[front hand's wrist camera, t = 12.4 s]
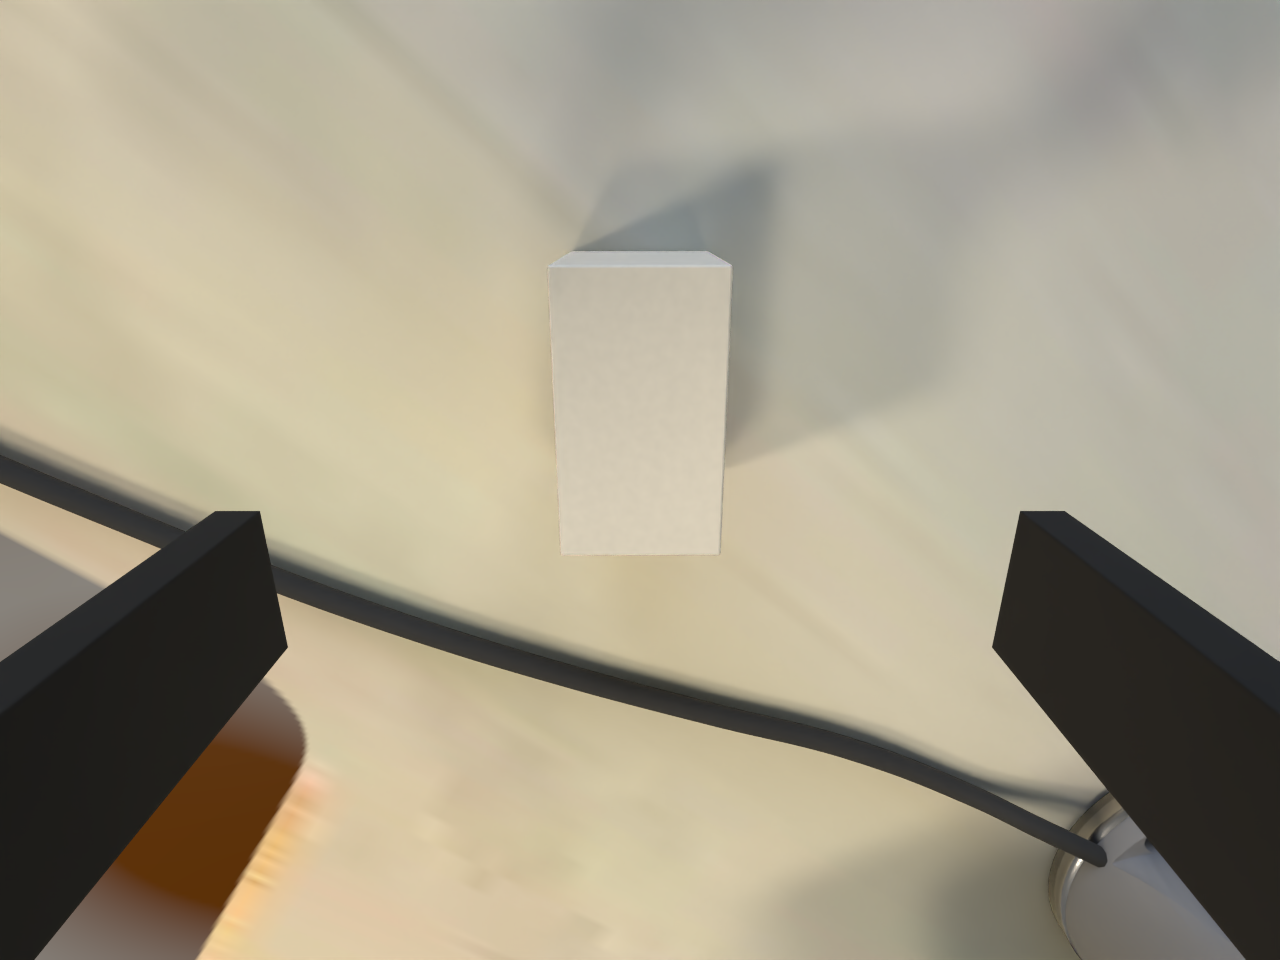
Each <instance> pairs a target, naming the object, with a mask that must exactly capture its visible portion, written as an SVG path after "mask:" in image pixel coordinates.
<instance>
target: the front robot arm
mask: <svg viewBox="0 0 1280 960" xmlns="http://www.w3.org/2000/svg"><path fill="white" fill-rule="evenodd" d="M0 483H1V484H4V485H6V486H9V487H11V488H13V489H16V490H18V491H21V492H23V493H25V494H28V495H30V496H33V497H35V498H38V499H40V500H42V501H45V502H47V503H50V504H52V505H55V506H57V507H60V508H62V509H65V510H67V511H69V512H72V513H74V514H77V515H79V516H82V517H84V518H87V519H89V520H92V521H94V522H97V523H99V524H102V525H104V526H106V527H109V528H111V529H114V530H116V531H119V532H121V533H124V534H126V535H129V536H131V537H134V538H136V539H139V540H141V541H143V542H146V543H148V544H151V545H153V546H156V547H158V548H161V550H159V551H158V552H156V553H155V554H154V555H152V556H151V557H149V558H148V559H147V560H145V561H144V562H142V563H141V564H139V565H138V566H137V567H135V568H134V569H132V570H131V571H129V572H128V573H127V574H125V575H124V576H122V577H121V578H119V579H118V580H117V581H115V582H114V583H112V584H111V585H109V586H108V587H107V588H105V589H104V590H102V591H101V592H100V593H98V594H97V595H95V596H94V597H92V598H91V599H90V600H88V601H87V602H85V603H84V604H82V605H81V606H79V607H78V608H77V609H75V610H74V611H72V612H71V613H70V614H68V615H67V616H65V617H64V618H62V619H61V620H60V621H58V622H57V623H55V624H54V625H53V626H51V627H50V628H48V629H47V630H45V631H44V632H43V633H41V634H40V635H38V636H37V637H35V638H34V639H32V640H31V641H30V642H28V643H27V644H25V645H24V646H22V647H21V648H20V649H18V650H17V651H15V652H14V653H12V654H11V655H10V656H8V657H7V658H5V659H4V660H3V661H1V662H0V960H34V959H35V958H36V957H37V956H38V955H39V953H40V952H41V951H42V950H43V948H44V947H45V946H46V945H47V943H48V942H49V941H50V940H51V938H52V937H53V936H54V935H55V934H56V932H57V931H58V930H59V929H60V927H61V926H62V925H63V924H64V923H65V921H66V920H67V919H68V918H69V916H70V915H71V914H72V913H73V911H74V910H75V909H76V908H77V906H78V905H79V904H80V903H81V902H82V900H83V899H84V898H85V897H86V895H87V894H88V893H89V892H90V890H91V889H92V888H93V887H94V885H95V884H96V883H97V882H98V881H99V879H100V878H101V877H102V876H103V874H104V873H105V872H106V871H107V870H108V868H109V867H110V866H111V865H112V863H113V862H114V861H115V860H116V858H117V857H118V856H119V855H120V854H121V852H122V851H123V850H124V849H125V847H126V846H127V845H128V844H129V842H130V841H131V840H132V839H133V837H134V836H135V835H136V834H137V833H138V831H139V830H140V829H141V828H142V826H143V825H144V824H145V823H146V821H147V820H148V819H149V818H150V817H151V815H152V814H153V813H154V812H155V810H156V809H157V808H158V807H159V805H160V804H161V803H162V802H163V801H164V799H165V798H166V797H167V796H168V794H169V793H170V792H171V791H172V789H173V788H174V787H175V786H176V784H177V783H178V782H179V781H180V780H181V778H182V777H183V776H184V775H185V773H186V772H187V771H188V770H189V768H190V767H191V766H192V765H193V763H194V762H195V761H196V760H197V759H198V757H199V756H200V755H201V754H202V752H203V751H204V750H205V749H206V747H207V746H208V745H209V744H210V743H211V741H212V740H213V739H214V738H215V736H216V735H217V734H218V733H219V732H220V730H221V729H222V728H223V727H224V725H225V724H226V723H227V722H228V720H229V719H230V718H231V717H232V715H233V714H234V713H235V712H236V710H237V709H238V708H239V707H240V706H241V704H242V703H243V702H244V701H245V699H246V698H247V697H248V696H249V695H250V693H251V692H252V691H253V690H254V688H255V687H256V686H257V685H258V683H259V682H260V681H261V680H262V679H263V677H264V676H265V675H266V674H267V672H268V671H269V670H270V669H271V667H272V666H273V665H274V664H275V663H276V661H277V660H278V659H279V658H280V656H281V655H282V654H283V653H284V651H285V650H286V649H287V648H288V646H287V641H286V636H285V631H284V626H283V621H282V617H281V612H280V607H279V602H278V597H277V593H278V594H281V595H283V596H286V597H289V598H291V599H294V600H297V601H300V602H302V603H305V604H308V605H311V606H313V607H316V608H319V609H322V610H324V611H327V612H330V613H333V614H336V615H339V616H341V617H344V618H347V619H350V620H353V621H356V622H359V623H362V624H364V625H367V626H370V627H373V628H376V629H379V630H382V631H385V632H388V633H391V634H394V635H397V636H400V637H403V638H406V639H409V640H412V641H415V642H418V643H421V644H424V645H427V646H431V647H434V648H437V649H440V650H443V651H446V652H449V653H452V654H456V655H459V656H462V657H465V658H468V659H472V660H475V661H478V662H481V663H485V664H488V665H491V666H495V667H498V668H501V669H505V670H508V671H511V672H515V673H518V674H522V675H525V676H529V677H532V678H536V679H539V680H543V681H546V682H550V683H553V684H557V685H560V686H564V687H567V688H571V689H574V690H578V691H581V692H585V693H589V694H592V695H596V696H599V697H603V698H607V699H611V700H614V701H618V702H622V703H626V704H629V705H633V706H637V707H641V708H645V709H649V710H653V711H656V712H660V713H664V714H668V715H672V716H676V717H680V718H684V719H688V720H692V721H696V722H700V723H703V724H707V725H711V726H715V727H719V728H723V729H727V730H732V731H736V732H740V733H745V734H749V735H753V736H758V737H762V738H767V739H771V740H776V741H780V742H784V743H789V744H793V745H797V746H801V747H805V748H809V749H813V750H817V751H821V752H824V753H828V754H831V755H835V756H838V757H842V758H845V759H848V760H851V761H854V762H858V763H861V764H864V765H867V766H870V767H873V768H876V769H879V770H882V771H885V772H888V773H890V774H893V775H896V776H899V777H902V778H904V779H907V780H909V781H912V782H915V783H917V784H920V785H922V786H925V787H927V788H930V789H932V790H934V791H937V792H939V793H941V794H944V795H946V796H949V797H951V798H953V799H955V800H958V801H960V802H962V803H965V804H967V805H969V806H972V807H974V808H976V809H978V810H981V811H983V812H985V813H987V814H989V815H991V816H993V817H995V818H997V819H999V820H1001V821H1003V822H1005V823H1007V824H1009V825H1011V826H1013V827H1015V828H1017V829H1019V830H1021V831H1023V832H1025V833H1027V834H1029V835H1031V836H1034V837H1036V838H1038V839H1040V840H1042V841H1044V842H1046V843H1048V844H1050V845H1052V846H1054V847H1056V848H1058V851H1057V853H1056V855H1055V858H1054V860H1053V863H1052V867H1051V870H1050V876H1049V886H1048V892H1049V901H1050V905H1051V908H1052V911H1053V914H1054V916H1055V918H1056V920H1057V922H1058V924H1059V925H1060V927H1061V929H1062V930H1063V932H1064V934H1065V936H1066V937H1067V939H1068V941H1069V942H1070V944H1071V946H1072V947H1073V949H1074V951H1075V952H1076V954H1077V955H1078V956H1079V957H1080V958H1081V960H1280V662H1279V661H1277V660H1276V659H1275V658H1273V657H1272V656H1270V655H1269V654H1268V653H1266V652H1265V651H1263V650H1262V649H1260V648H1259V647H1258V646H1256V645H1255V644H1253V643H1252V642H1250V641H1249V640H1248V639H1246V638H1245V637H1243V636H1242V635H1240V634H1239V633H1238V632H1236V631H1235V630H1233V629H1232V628H1230V627H1229V626H1228V625H1226V624H1225V623H1223V622H1222V621H1220V620H1219V619H1218V618H1216V617H1215V616H1213V615H1212V614H1210V613H1209V612H1208V611H1206V610H1205V609H1203V608H1202V607H1201V606H1199V605H1198V604H1196V603H1195V602H1193V601H1192V600H1191V599H1189V598H1188V597H1186V596H1185V595H1183V594H1182V593H1181V592H1179V591H1178V590H1176V589H1175V588H1173V587H1172V586H1171V585H1169V584H1168V583H1166V582H1165V581H1163V580H1162V579H1161V578H1159V577H1158V576H1156V575H1155V574H1153V573H1152V572H1151V571H1149V570H1148V569H1146V568H1145V567H1143V566H1142V565H1141V564H1139V563H1138V562H1136V561H1135V560H1133V559H1132V558H1131V557H1129V556H1128V555H1126V554H1125V553H1124V552H1122V551H1121V550H1119V549H1118V548H1116V547H1115V546H1114V545H1112V544H1111V543H1109V542H1108V541H1106V540H1105V539H1104V538H1102V537H1101V536H1099V535H1098V534H1096V533H1095V532H1094V531H1092V530H1091V529H1089V528H1088V527H1086V526H1085V525H1084V524H1082V523H1081V522H1079V521H1078V520H1076V519H1075V518H1074V517H1072V516H1071V515H1069V514H1068V513H1066V512H1065V511H1020V515H1019V520H1018V524H1017V529H1016V534H1015V539H1014V544H1013V549H1012V554H1011V558H1010V563H1009V568H1008V573H1007V578H1006V583H1005V587H1004V592H1003V597H1002V602H1001V607H1000V612H999V617H998V621H997V626H996V631H995V636H994V641H993V646H992V648H993V649H994V650H995V651H996V653H997V654H998V655H999V656H1000V658H1001V659H1002V660H1003V661H1004V663H1005V664H1006V665H1007V666H1008V667H1009V669H1010V670H1011V671H1012V672H1013V674H1014V675H1015V676H1016V677H1017V679H1018V680H1019V681H1020V682H1021V683H1022V685H1023V686H1024V687H1025V688H1026V690H1027V691H1028V692H1029V693H1030V695H1031V696H1032V697H1033V698H1034V699H1035V701H1036V702H1037V703H1038V704H1039V706H1040V707H1041V708H1042V709H1043V711H1044V712H1045V713H1046V714H1047V716H1048V717H1049V718H1050V719H1051V720H1052V722H1053V723H1054V724H1055V725H1056V727H1057V728H1058V729H1059V730H1060V732H1061V733H1062V734H1063V735H1064V736H1065V738H1066V739H1067V740H1068V741H1069V743H1070V744H1071V745H1072V746H1073V748H1074V749H1075V750H1076V751H1077V752H1078V754H1079V755H1080V756H1081V757H1082V759H1083V760H1084V761H1085V762H1086V764H1087V765H1088V766H1089V767H1090V768H1091V770H1092V771H1093V772H1094V773H1095V775H1096V776H1097V777H1098V778H1099V780H1100V781H1101V782H1102V783H1103V785H1104V786H1105V787H1106V788H1107V789H1108V791H1109V793H1108V794H1107V795H1105V796H1104V797H1103V798H1101V799H1100V800H1099V801H1098V802H1096V803H1095V804H1094V805H1093V806H1092V807H1091V808H1090V809H1089V810H1088V811H1087V812H1086V813H1084V814H1083V815H1082V816H1081V817H1080V819H1079V820H1078V821H1077V822H1076V823H1075V824H1074V826H1073V827H1072V828H1071V829H1070V831H1068V830H1066V829H1064V828H1062V827H1059V826H1057V825H1055V824H1053V823H1051V822H1049V821H1047V820H1045V819H1043V818H1041V817H1038V816H1036V815H1034V814H1032V813H1030V812H1028V811H1026V810H1024V809H1022V808H1020V807H1018V806H1016V805H1014V804H1012V803H1010V802H1008V801H1006V800H1004V799H1002V798H1000V797H998V796H996V795H994V794H992V793H990V792H987V791H985V790H983V789H981V788H979V787H976V786H974V785H972V784H969V783H967V782H965V781H963V780H960V779H958V778H956V777H953V776H951V775H949V774H946V773H944V772H942V771H939V770H937V769H935V768H932V767H930V766H928V765H925V764H923V763H920V762H918V761H915V760H913V759H910V758H908V757H905V756H902V755H900V754H897V753H894V752H891V751H889V750H886V749H883V748H880V747H877V746H874V745H871V744H868V743H865V742H862V741H859V740H856V739H853V738H850V737H846V736H843V735H840V734H837V733H833V732H830V731H826V730H822V729H819V728H815V727H811V726H807V725H803V724H799V723H795V722H791V721H787V720H782V719H778V718H774V717H769V716H765V715H760V714H756V713H752V712H747V711H743V710H739V709H735V708H731V707H726V706H722V705H719V704H715V703H711V702H707V701H703V700H699V699H695V698H691V697H688V696H684V695H680V694H676V693H672V692H668V691H664V690H661V689H657V688H653V687H649V686H645V685H641V684H638V683H634V682H630V681H626V680H623V679H619V678H615V677H612V676H608V675H604V674H601V673H597V672H594V671H590V670H587V669H583V668H579V667H576V666H573V665H569V664H566V663H562V662H559V661H555V660H552V659H548V658H545V657H541V656H538V655H535V654H531V653H528V652H524V651H521V650H518V649H514V648H511V647H508V646H504V645H501V644H498V643H495V642H491V641H488V640H485V639H482V638H478V637H475V636H472V635H469V634H466V633H463V632H460V631H456V630H453V629H450V628H447V627H444V626H441V625H438V624H435V623H432V622H429V621H426V620H423V619H420V618H417V617H414V616H411V615H408V614H405V613H402V612H399V611H396V610H393V609H390V608H387V607H385V606H382V605H379V604H376V603H373V602H370V601H367V600H364V599H362V598H359V597H356V596H353V595H350V594H347V593H345V592H342V591H339V590H336V589H334V588H331V587H328V586H325V585H323V584H320V583H317V582H315V581H312V580H309V579H307V578H304V577H301V576H299V575H296V574H293V573H291V572H288V571H285V570H283V569H280V568H277V567H275V566H272V565H271V563H270V558H269V554H268V549H267V544H266V539H265V534H264V529H263V524H262V520H261V515H260V511H215V512H214V513H212V514H211V515H209V516H208V517H206V518H205V519H204V520H202V521H201V522H199V523H198V524H196V525H195V526H194V527H192V528H191V529H189V530H188V531H186V532H185V531H183V530H180V529H178V528H175V527H173V526H170V525H168V524H165V523H163V522H161V521H158V520H156V519H153V518H151V517H148V516H146V515H143V514H141V513H139V512H136V511H134V510H131V509H129V508H126V507H124V506H122V505H119V504H117V503H114V502H112V501H109V500H107V499H105V498H102V497H100V496H97V495H95V494H92V493H90V492H88V491H85V490H83V489H80V488H78V487H75V486H73V485H71V484H68V483H66V482H63V481H61V480H59V479H56V478H54V477H51V476H49V475H47V474H44V473H42V472H39V471H37V470H35V469H32V468H30V467H28V466H25V465H23V464H20V463H18V462H16V461H13V460H11V459H9V458H6V457H4V456H2V455H0Z"/></svg>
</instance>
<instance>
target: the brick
mask: <svg viewBox="0 0 1280 960" xmlns="http://www.w3.org/2000/svg"><path fill="white" fill-rule="evenodd" d="M547 277H548V298H549V320H550V342H551V363H552V385H553V407H554V428H555V450H556V472H557V493H558V515H559V537H560V553H561V555H562V556H653V555H720V553H721V532H722V509H723V486H724V464H725V441H726V418H727V395H728V372H729V349H730V327H731V304H732V281H733V266H732V265H731V264H729V263H727V262H725V261H724V260H722V259H720V258H719V257H717V256H715V255H714V254H712V253H710V252H708V251H572V252H570V253H568V254H566V255H565V256H563V257H561V258H560V259H558V260H557V261H555V262H553V263H552V264H550V265H548V267H547Z"/></svg>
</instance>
